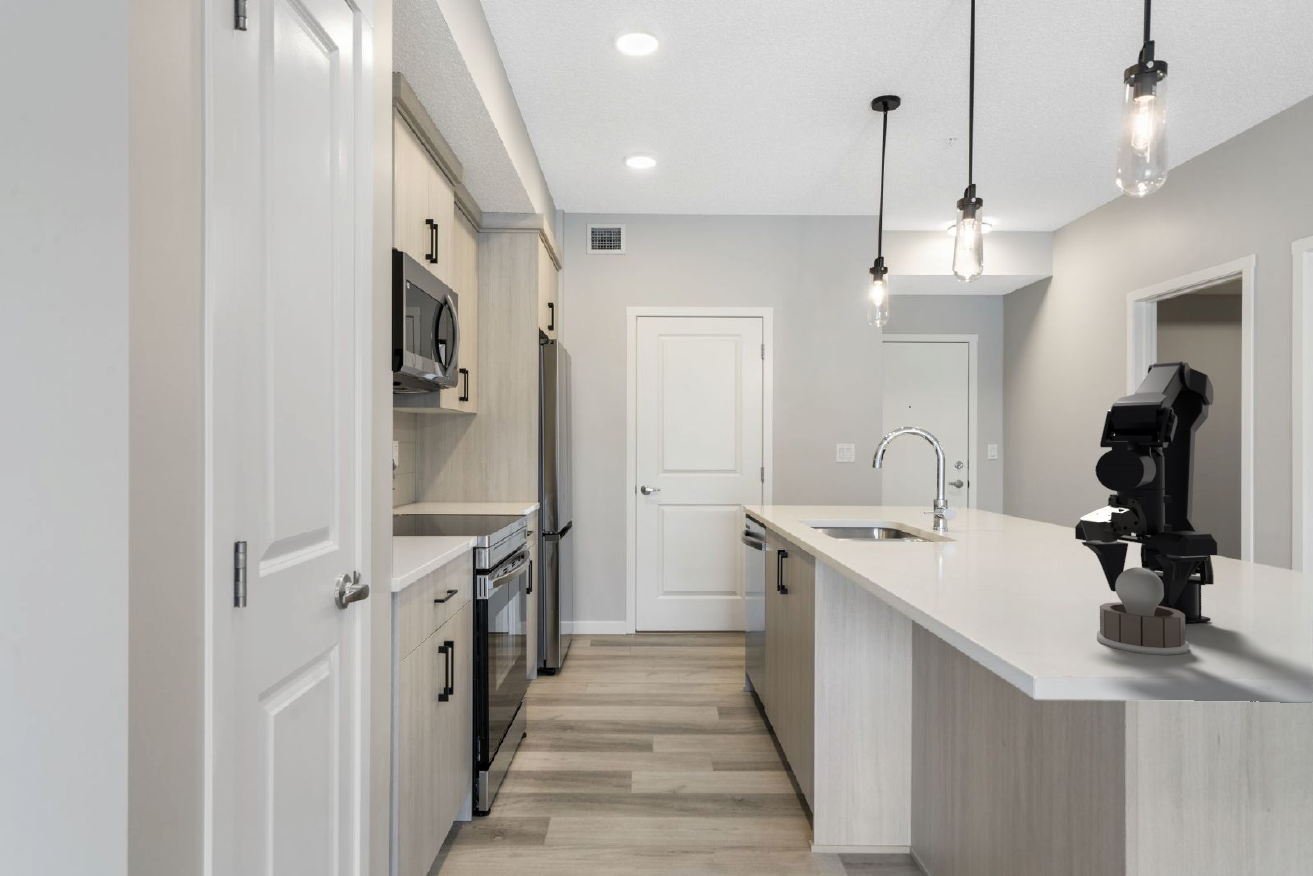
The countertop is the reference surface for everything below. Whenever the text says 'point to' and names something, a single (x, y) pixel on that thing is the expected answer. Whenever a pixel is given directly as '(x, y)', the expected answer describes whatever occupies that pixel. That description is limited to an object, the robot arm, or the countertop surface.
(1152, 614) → the light bulb
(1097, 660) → the countertop surface
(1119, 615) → the socket
